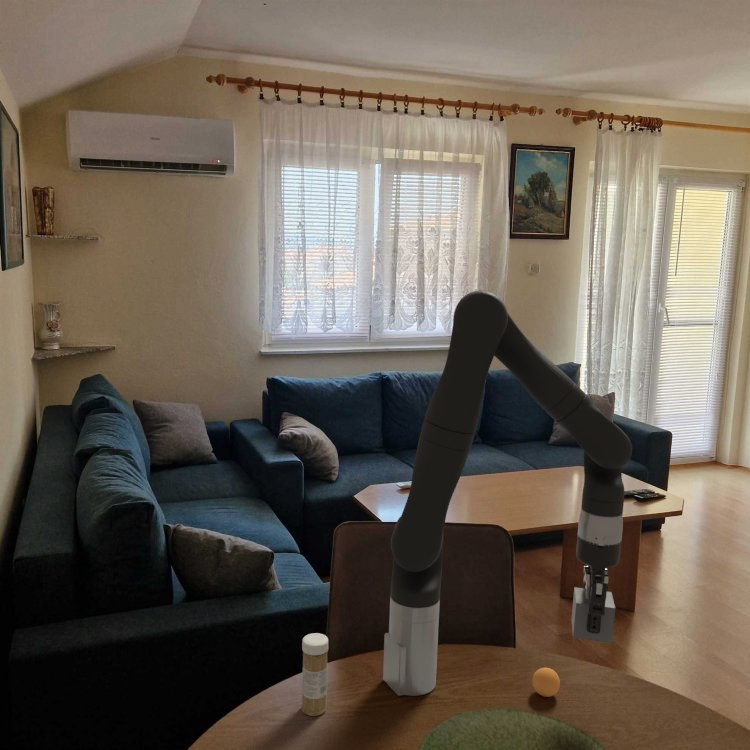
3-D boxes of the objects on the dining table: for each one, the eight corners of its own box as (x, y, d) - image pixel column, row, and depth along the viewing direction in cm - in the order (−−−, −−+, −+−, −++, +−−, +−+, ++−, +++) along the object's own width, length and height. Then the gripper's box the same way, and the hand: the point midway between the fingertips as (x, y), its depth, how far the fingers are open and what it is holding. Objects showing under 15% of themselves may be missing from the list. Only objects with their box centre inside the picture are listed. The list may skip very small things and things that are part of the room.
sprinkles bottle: (314, 698, 131) (316, 629, 129) (332, 709, 128) (333, 638, 126) (295, 709, 128) (296, 638, 126) (313, 720, 125) (314, 648, 123)
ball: (549, 680, 130) (547, 705, 131) (566, 670, 133) (565, 695, 134) (527, 668, 134) (526, 693, 135) (544, 659, 137) (543, 683, 138)
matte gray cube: (611, 643, 127) (615, 608, 126) (573, 637, 129) (576, 602, 128) (608, 625, 134) (611, 592, 133) (571, 620, 135) (574, 587, 134)
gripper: (575, 519, 136) (568, 602, 139) (580, 547, 122) (572, 639, 125) (617, 523, 134) (609, 607, 137) (626, 552, 121) (617, 645, 123)
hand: (591, 622), depth 131 cm, fingers closed on matte gray cube, 6 cm apart
